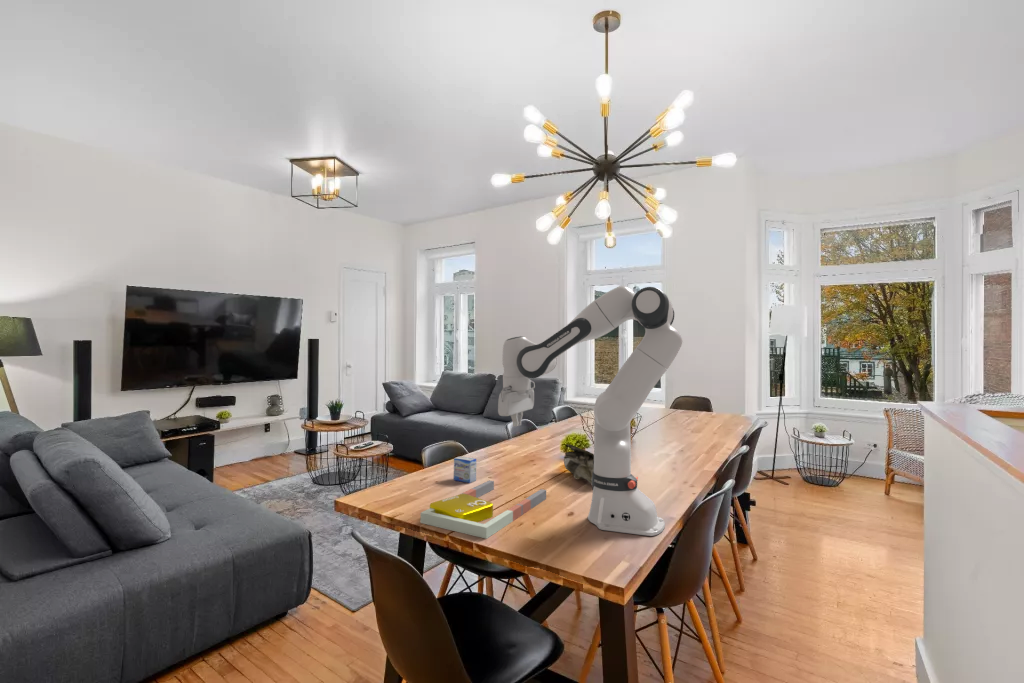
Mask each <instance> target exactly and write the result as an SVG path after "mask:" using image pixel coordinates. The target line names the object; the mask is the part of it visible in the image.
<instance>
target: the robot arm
mask: <svg viewBox="0 0 1024 683" xmlns="http://www.w3.org/2000/svg"><path fill="white" fill-rule="evenodd" d="M629 320H634V321H635V322H636V323H638V325H640V326H641V327H642V328H644V330H645V331H644V332H645V333H644V336H643V338H642V339H641V341H640V342H639V343H638V345H637V346H636V347H635V349H634V350H633V351H632V353H631V354H630V355H629V357H628V358H627V359H626V360H625V361H624V363H623V365H622V366H621V367H620V368H619V370H618V372H617V373H616V375H615V376H614V377H613V379H612V380H611V382H610V383H609V385H608V386H607V387H606V389H605V390H604V391H603V392H601V393H600V394H599V395H598V396H597V397H596V400H595V402H594V407H593V408H594V409H593V413H594V414H593V415H594V425H593V426H594V430H593V431H594V432H593V433H594V436H593V437H594V438H593V443H594V444H593V454H594V471H593V472H592V484H591V489H592V498H591V503H590V509H589V513H588V515H587V519H588V521H589V522H590V523H592V524H593V525H595V526H596V527H597V528H598V529H599V530H602V531H609V532H616V533H624V534H633V535H640V536H648V537H653V536H657V535H659V534H661V533H662V532H663V531H664V530H665V525H666V523H665V520H664V519H663V518H662V517H660V516H658V514H657V513H658V512H657V507H656V504H655V503H654V501H653V500H652V499H651V498H650V497H648V495H646V494H645V493H644V492H642V491H641V490H640V488H638V481H639V480H638V479H639V477H638V476H636V477H635V476H634V475H633V474H632V473H631V472H632V471H631V470H632V467H631V466H632V465H631V464H632V463H631V461H632V450H631V449H632V444H631V443H632V441H631V439H632V438H631V436H632V435H631V423H632V422H631V421H632V420H633V419H634V417H636V415H637V413H638V411H639V410H640V408H641V407H642V405H643V404H644V402H645V401H646V400H647V397H648V396H649V394H650V393H651V391H653V389H654V387H655V386H656V385H657V384H658V383H659V381H660V380H661V378H662V376H664V374H665V373H666V371H667V370H668V369H669V368H670V366H671V365H672V364H673V361H674V360H675V359H676V357H677V356H678V353H679V351H680V349H681V347H682V345H683V337H682V334H680V332H679V331H678V330H677V328H674V327H673V326H672V324H673V323H674V320H675V310H674V308H673V304H672V301H671V300H670V298H669V297H668V295H667V293H666V292H665V291H663V290H662V289H660V288H658V287H655V286H646V287H643V288H641V289H639V290H637V291H636V293H635V292H634V291H633V290H632V288H631V287H630V288H629V287H628V286H626V285H620V286H616V287H615V288H612V289H610V290H608V291H607V292H606V293H604V294H601V295H600V296H599V297H597V298H596V299H595V300H593V301H592V302H590V303H589V304H588V305H587V306H586V307H585V308H584V309H582V310H581V311H580V312H579V313H578V314H577V315H576V316H574V318H573V319H572V320H571V321H570V322H569V323H567V324H566V325H565V326H564V327H563V328H561V329H560V330H558V331H557V332H555V333H553V335H551V336H550V337H547V338H546V340H544V341H541V343H535V342H534V341H531V340H530V339H528V338H527V337H525V336H521V335H520V336H514V337H511V338H507V339H506V340H505V341H504V342H503V346H502V361H501V362H502V367H503V373H502V390H501V391H500V393H499V396H498V400H497V401H498V402H497V403H498V404H497V413H498V415H499V416H501V417H509V416H510V417H511V420H512V426H513V427H516V428H517V427H520V426H522V420H523V416H524V412H527V411H529V410H533V408H534V405H535V391H534V389H535V388H536V385H535V382H534V381H533V380H531V379H537V378H539V377H541V376H544V375H547V374H549V373H551V372H553V370H554V369H555V368H556V366H557V361H558V360H557V359H558V357H559V356H561V355H562V354H563V353H565V352H566V351H567V350H569V349H571V348H572V347H574V346H576V345H577V344H580V343H583V342H587V341H591V340H597V339H599V338H601V337H603V336H606V335H607V334H608V333H610V332H612V331H614V330H615V329H616V328H618V327H619V326H621V325H622V324H623V323H625V322H627V321H629Z"/></svg>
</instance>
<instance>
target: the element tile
mask: <svg viewBox="0 0 1024 683" xmlns="http://www.w3.org/2000/svg"><path fill="white" fill-rule="evenodd" d="M459 494H460V495H459ZM459 494H458V495H453V496H451V497H447V498H444V499H440V500H436V501H433V502H431V503H430V504H429V509H430V508H433V509H435V513H437V514H442V515H446V516H451V517H455V518H460V519H464V520H469V521H473V522H478V523H481V522H483V521H485V520H488V519H491V518H494V503H492V502H490V501H489V500H485V499H482V498H480V497H478V498H476V497H473V496H470V495H467V494H461V493H459Z"/></svg>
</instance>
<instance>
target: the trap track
mask: <svg viewBox="0 0 1024 683" xmlns="http://www.w3.org/2000/svg"><path fill="white" fill-rule="evenodd" d="M494 489H495V481H494V480H489V479H488V480H487V481H484V482H483V483H481V484H478V485H477V486H474V487H472V488H470V489H468V490H466V491H463V492H462V493H459V494H458V495H460V494H467V495H470V496H473V497H476V498H480V497H482V496H484V495H485V494H488V493H489V492H492V491H493V490H494ZM545 500H547V489H543V488H540V489H539V490H537V491H536V492H534V493H533V494H531V495H529V496H528V497H526V498H524V499H523V500H521V501H519V502H517V504H515V505H513V506H511V507H510V508H508V509H506V510H504V511H503V512H501V513H500V514H498V515H497V516H495V517H492V519H490V520H489V521H486V522H485V523H481V522H473V521H469V520H464V519H460V518H455V517H451V516H446V515H442V514H437V513H435V509H433V508H430V507H429V508H427V509H425V510H423V511H421V512H420V524H423V525H424V524H425V525H428V526H432V527H435V528H441V529H445V530H448V531H451V532H452V531H453V532H457V533H461V534H464V535H465V534H466V535H470V536H474V537H477V538H483V539H489V538H490V537H491V536H493V535H495V533H497V532H500V530H502V529H504V528H505V527H506V526H508V525H509V524H511V523H512V522H514V521H515V520H517V519H518V518H520V517H521V516H523V515H524V514H526V513H527V512H529V511H530V510H532V509H533V508H535V507H536V506H538V505H539V504H540V503H542V502H544V501H545Z"/></svg>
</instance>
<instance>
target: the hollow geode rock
mask: <svg viewBox="0 0 1024 683" xmlns="http://www.w3.org/2000/svg"><path fill="white" fill-rule="evenodd" d="M566 446H567V447H568V449H570V451H568V452H565V453H564V454H565V455H564V457H563V464H564V468H565V470H566V471H569V472H570V473H571V474H573V478H574V479H575V480H579V479H583V480H586V481H587V482H588V483H590V484H591V485H592V472H593V471H594V452H593V453H592V452H590V451H588V450H584V449H582V448H580V447H578V446H576V445H573V444H568V443H567V444H566Z"/></svg>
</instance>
